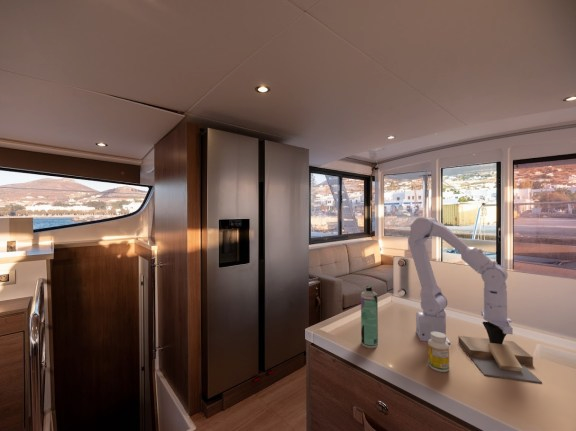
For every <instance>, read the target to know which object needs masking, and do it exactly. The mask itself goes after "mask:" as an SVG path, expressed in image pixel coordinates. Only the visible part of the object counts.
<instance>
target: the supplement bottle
mask: <svg viewBox="0 0 576 431" xmlns="http://www.w3.org/2000/svg"><path fill="white" fill-rule="evenodd" d="M430 337H431V339H429V341H427V357H428V358H427V361H428V362H427V364H428V366H429V367H430V368H431V369H432V370H434V371H436V372H440V373H447V372H449V370H450V345H449V344H448V343H447V342H446V337H447V334H446V335H445V334H443V333H440V332H431V335H430Z"/></svg>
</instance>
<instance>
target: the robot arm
mask: <svg viewBox="0 0 576 431" xmlns="http://www.w3.org/2000/svg"><path fill="white" fill-rule="evenodd" d="M430 237H435V238H436V237H437V238H441V240H443V241H445V243H447V244H448V245H450V246H451V247H452V248H454V250H456V251H458V252H459V254H460V255H461V256H460V257H461V260H462V261H463V262H464V263H466V264H467V265H468V266H469V267H470V268H472V269H473V270H474V271H475V272H476V273H477V274H479V275H480V276H481V279H482V281H483V283H484V284H483V309H480V313H481V314H480V315H481V316H482V318H483V320H484V321H482V325H483V326H484V329H485V331H486V333H487V336H488V337H487V338H488V339H489V341H490V343H497V344H502V343H503V340H505V338H506V336H507V335H513V333H514V332H513V327H512V326H511V324H510V323H512V322H513V321H512V319H511V318H509V317H508V290H507V282H506V281H507V279H508V277H509V274H508V271H507V270H506V268H505V267H504V266H503V265H501V264H498V262H497V261H495V260H492V259H491V258H490V257H488V256H487V255H486V254H485V253H484V250H483V249H482V248H479V249H478V248H477V247H476V246H474V247H473V246H468V245H467V244H466V243H465V242H464V241H463V240H462V239H460V238H459V236H457V235H456V234H455V233H453V231H452V230H450V228H448V227H447V226H445V224H444V223H443V222H440V221H438V220H437V218H435V217H432V216H431V217H430V216H429V217H424V216H423V217H421V216H420V217H417V218H415V220H414V221H413V222H412V223H411V224H410V232H409V236H408V240H407V242H408V246H409V250H410V253H411V257H412V259H413V264H414V266H415V270H416V273H417V277H418V281H419V284H420V288H421V289H420V300H421V301H420V308H421V310H422V311H416V314H415V333H416V334H417V336H418V338H419V341H424V342H428V341H429V339H431V337H430V335H431V332H440V333H443V334H445V335H446V342H447V343H448V345H449V344H451V341H450V340H449V338H448V337H447V318H446V317H447V313H446V312H445V309H446V307H447V306H448V300H447V298H446V296H445V295H444V294H443V292H442V289H441V288H440V287H439V286H438V284H437V281H436V277H435V274H434V271H433V268H432V264H431V261H430V258H429V255H428V252H427V248H426V241H427V240H428V239H429V238H430Z"/></svg>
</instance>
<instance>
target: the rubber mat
mask: <svg viewBox="0 0 576 431" xmlns="http://www.w3.org/2000/svg"><path fill="white" fill-rule="evenodd" d="M470 359H471V360H472V362H473V363H474V365H476V367H477V368H478V369H479V371H480V372H481V374H482V375H483V376H484V377H490V378H491V377H493V378H499V379H508V380H514V381H520V382H521V381H523V382H529V383H535V384H536V383H537V384H543V382H542V380H540V379H539V378H538V377H537V376H536V375H535V374H534V373H533V372H532V371H531V370H530V369H529V368H527V367H526V366H525V365H524V364H521V363H520V365H521V366H522V371H521V372H519V371H511V370H504V369H500V368H499V366H498V364H497V362H496V361H495V360H491V359H483V358H475V357H471V358H470Z"/></svg>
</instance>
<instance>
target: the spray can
mask: <svg viewBox="0 0 576 431" xmlns="http://www.w3.org/2000/svg"><path fill="white" fill-rule="evenodd" d="M365 288H366V289H364V291H362V292H361V293H360V320H361V321H360V325H361V327H360V331H361V338H360V340H361V342H360V343H361V345H362V346H363V348H364V347H365V348H367V349H376V348H378V346H379V327H378V326H379V324H378V322H379V320H378V315H379V313H378V311H379V310H378V309H379V308H378V293H377V292H375V291H374V290H373V289H372V288H373V287H372V286H371V285H367V286H366V287H365Z"/></svg>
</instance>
